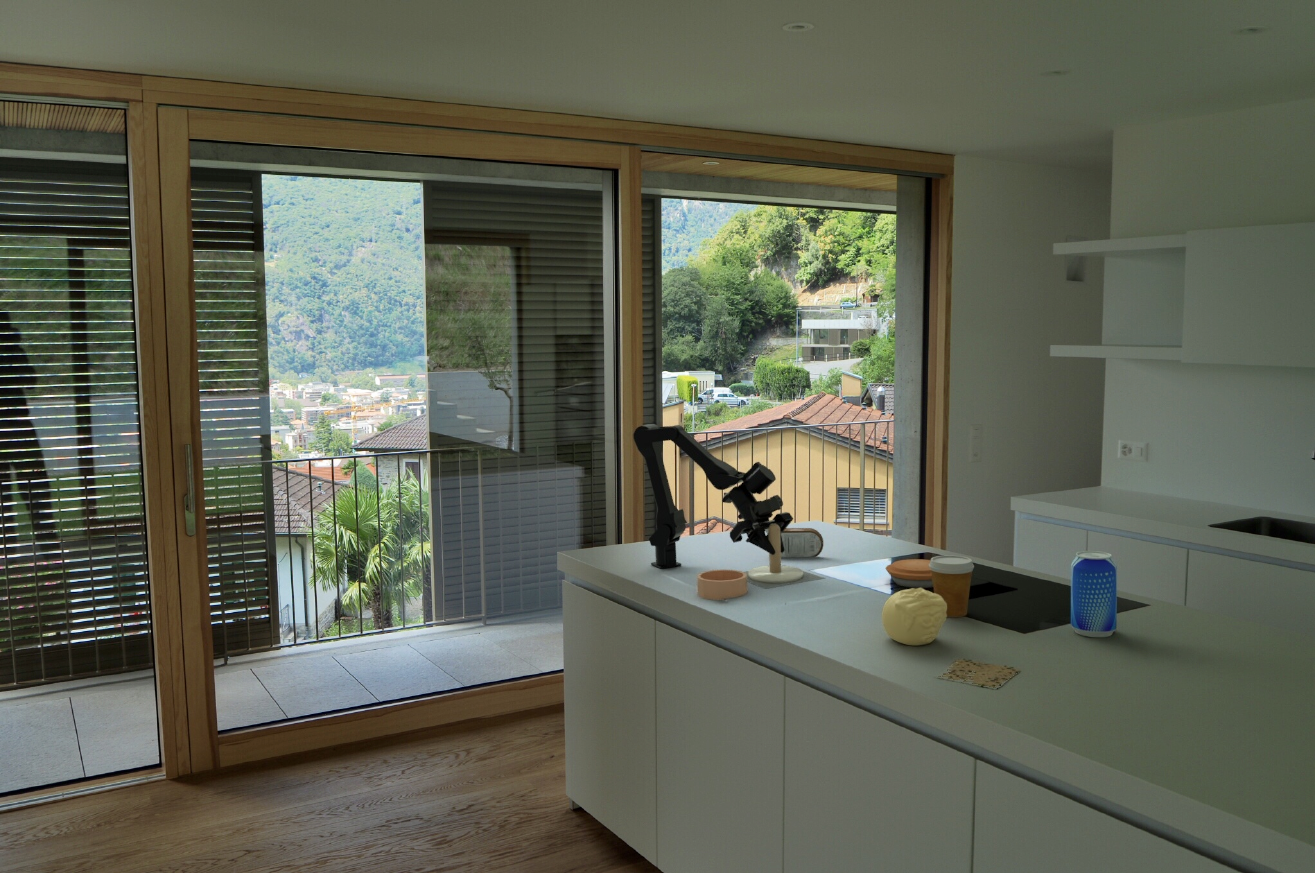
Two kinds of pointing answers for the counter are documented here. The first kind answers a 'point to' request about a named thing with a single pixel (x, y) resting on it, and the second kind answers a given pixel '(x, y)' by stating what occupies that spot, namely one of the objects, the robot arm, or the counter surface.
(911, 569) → the pie
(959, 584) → the disposable coffee cup
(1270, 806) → the counter surface
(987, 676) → the cookie
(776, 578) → the lid
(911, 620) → the pale yellow lumpy ball
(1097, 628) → the beer can
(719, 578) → the bowl
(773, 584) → the mat
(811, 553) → the tin
